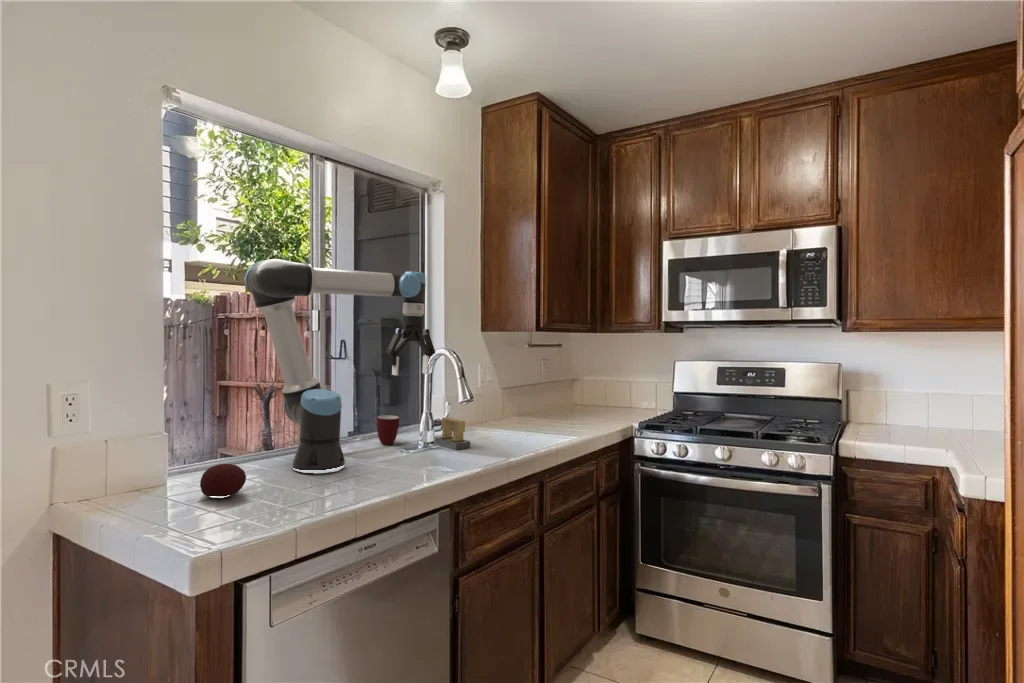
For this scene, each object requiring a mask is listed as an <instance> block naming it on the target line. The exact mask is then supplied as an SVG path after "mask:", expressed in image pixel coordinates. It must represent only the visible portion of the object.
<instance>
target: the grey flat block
mask: <svg viewBox="0 0 1024 683" xmlns="http://www.w3.org/2000/svg"><path fill="white" fill-rule="evenodd" d="M436 444H437V445H436ZM434 445H436V446H440V447H443V448H446V449H450V450H453V451H461V450H466V449H470V448H471V440H467V439H464V438H463V441H462V442H453V435H452V438H451V439H442V436H437V437H434Z"/></svg>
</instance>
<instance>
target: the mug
mask: <svg viewBox="0 0 1024 683" xmlns="http://www.w3.org/2000/svg"><path fill="white" fill-rule="evenodd" d="M399 425H400V416H397V415H393V414H392V415H390V414H389V415H387V414H386V415H378V416H377V417H376V429H377V431H376V432H377V436H378V440H379V442H380V444H381V445H382V444H383V446H390V445H389V444H392V445H393V444H394V442H395V441H396V439H397V436H398V430H399Z"/></svg>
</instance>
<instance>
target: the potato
mask: <svg viewBox="0 0 1024 683" xmlns="http://www.w3.org/2000/svg"><path fill="white" fill-rule="evenodd" d="M246 479H247V475H246V472H245V470H244V469H243V468H242V467H240V466H238V465H236V464H234V463H233V464H232V463H220V464H216V465H213V466H211V467H209V468H207V469H206V470H205V471H204V472H203V473H202V476H201V478H200V483H199V486H200V487H199V488H200V491H201V493H202V494H203V496H205V495H206V497H207V496H227V495H232V494H234V495H236V494H237V493H238V492H240V490H241V489H243V487H244V485H245V483H246ZM235 493H236V494H235ZM232 496H233V495H232Z"/></svg>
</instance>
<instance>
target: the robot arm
mask: <svg viewBox="0 0 1024 683" xmlns="http://www.w3.org/2000/svg"><path fill="white" fill-rule="evenodd" d="M244 282H245V285H246V288H247V291H249V293H250V295H251V294H252V298H253V301H254V304H255V308H256V309H257V310H259V311H261V312H262V313H263V316H264V319H265V322H266V325H267V328H268V331H269V336H270V338H271V342H272V345H273V348H274V351H275V352H274V353H275V355H276V358H277V361H278V364H279V365H278V366H279V368H280V369H279V370H280V372H281V375H282V378H283V382H284V386H283V388H282V389H281V393H282V395H283V398H284V401H283V408H284V409H283V410H284V412H285V414H286V415H285V416H287V418H288V419H289V420H290V421H291V422H293V423H294V424H296V425H299V426H300V427H299V444H298V446H297V449H296V451H295V452H296V453H295V454H294V457H293V461H292V469H293V468H295V469H299V470H326V469H332V468H337V467H340V466H343V465H344V464H345V462H346V461H345V457H344V452H343V450H342V446H341V443H340V441H341V439H340V438H341V422H342V421H341V420H342V407H343V406H342V405H343V404H342V397H341V394H339V393H338V392H336V391H334V390H329V389H322V386H321V383H320V381H319V380H320V379H317V378H316V377H314V376H313V373H312V370H311V366H310V362H309V359H308V356H307V352H306V349H305V346H304V342H303V338H302V336H301V332H300V329H299V326H298V321H297V318H296V314H295V312H294V308H293V304H294V302H295V300H296V297H309V296H310V295H312V294H323V295H324V294H325V295H326V294H327V295H328V294H329V295H348V296H349V295H350V296H352V295H353V296H372V297H374V296H375V297H380V298H382V297H383V298H400V299H401V298H402V300H403V301H402V314H403V315H402V320H401V322H402V323H401V324H402V328H401V327H400V328H398V327H396V328H395V329H394V332H393V333H394V334H393V336H392V338H391V340H390V343H389V344H388V347H387V348H386V351H385V354H386V355H387V356H389V357H390V366H391V376H399V365H400V356H398V355H399V354H400V352H401V351H402V349H403V348H404V347H405V346H406V344H407V343H409V342H416V343H417V345H418V346H419V348H420V349H421V350H422V353H423V354H424V355H423V356H422V368H421V369H422V370H421V372H422V374H424V375H425V374H426V375H429V374H430V373H429V372H430V370H429V369H430V365H429V364H428V362H429V359H430V358H432V357H433V356H434V355H435V354H436V350H435V347H434V343H433V341H432V338H431V335H430V334H431V332H430V329H429V328H423V327H424V322H425V321H424V320H425V318H424V315H425V298H426V285H427V284H426V283H427V282H426V274H425V273H424V272H421V271H411V270H410V271H404V273H390V272H377V271H364V270H363V271H362V270H353V269H335V268H324V267H321V268H320V267H313V266H312V265H311V264H310V263H301V262H296V261H295V262H294V261H290V260H286V259H285V260H284V259H279V258H272V259H266V260H265V259H264V260H262V259H261V260H259V261H257V262H255V263H254V264H252V265H251V266H250V267H249V268H248V270H247V271H246V274H245V280H244ZM430 360H431V359H430ZM427 365H428V366H427ZM426 370H427V371H426ZM428 373H429V374H428Z"/></svg>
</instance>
